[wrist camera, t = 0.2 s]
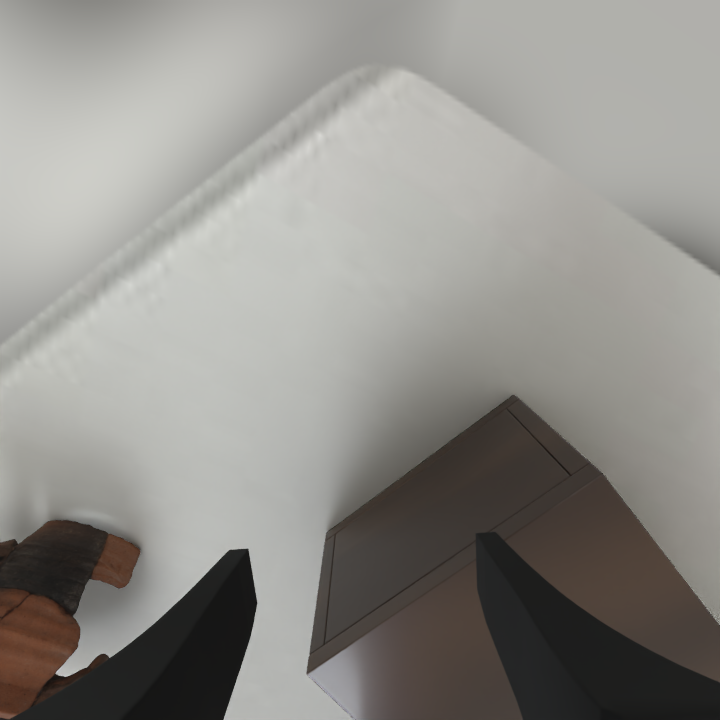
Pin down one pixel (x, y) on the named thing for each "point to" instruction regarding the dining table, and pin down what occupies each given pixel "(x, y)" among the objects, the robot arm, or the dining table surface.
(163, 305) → the dining table surface
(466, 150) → the dining table surface
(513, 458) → the cabinet
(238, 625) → the robot arm
